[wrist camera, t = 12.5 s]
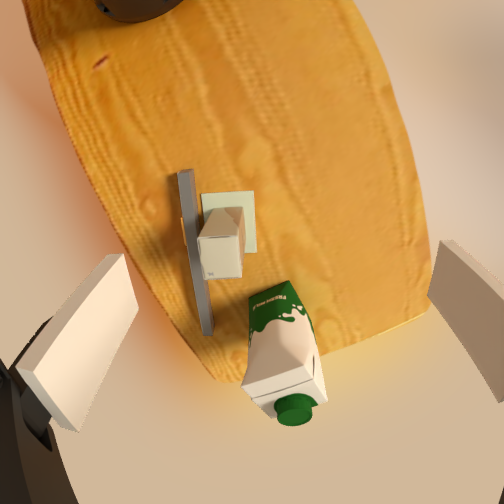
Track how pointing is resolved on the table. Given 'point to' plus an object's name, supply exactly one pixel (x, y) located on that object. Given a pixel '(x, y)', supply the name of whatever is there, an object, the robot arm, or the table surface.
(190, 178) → the rail
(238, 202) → the pad
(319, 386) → the fresh milk carton
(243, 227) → the box
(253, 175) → the table surface
